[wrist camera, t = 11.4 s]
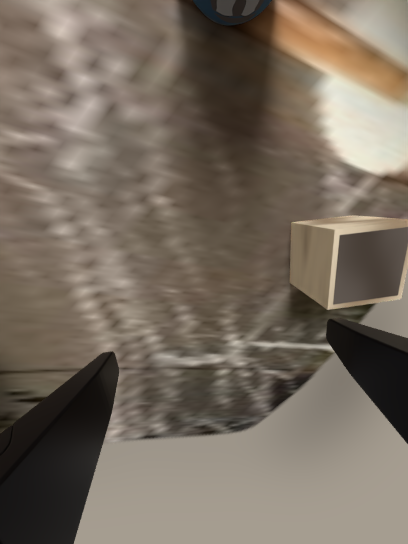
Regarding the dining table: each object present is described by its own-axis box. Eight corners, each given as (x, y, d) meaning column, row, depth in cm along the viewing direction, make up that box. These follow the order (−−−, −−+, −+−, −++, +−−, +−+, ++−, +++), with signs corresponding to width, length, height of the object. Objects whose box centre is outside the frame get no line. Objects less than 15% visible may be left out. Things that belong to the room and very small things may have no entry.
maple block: (401, 299, 17) (345, 274, 22) (417, 220, 15) (351, 215, 21) (327, 310, 16) (289, 282, 22) (335, 229, 14) (290, 222, 20)
